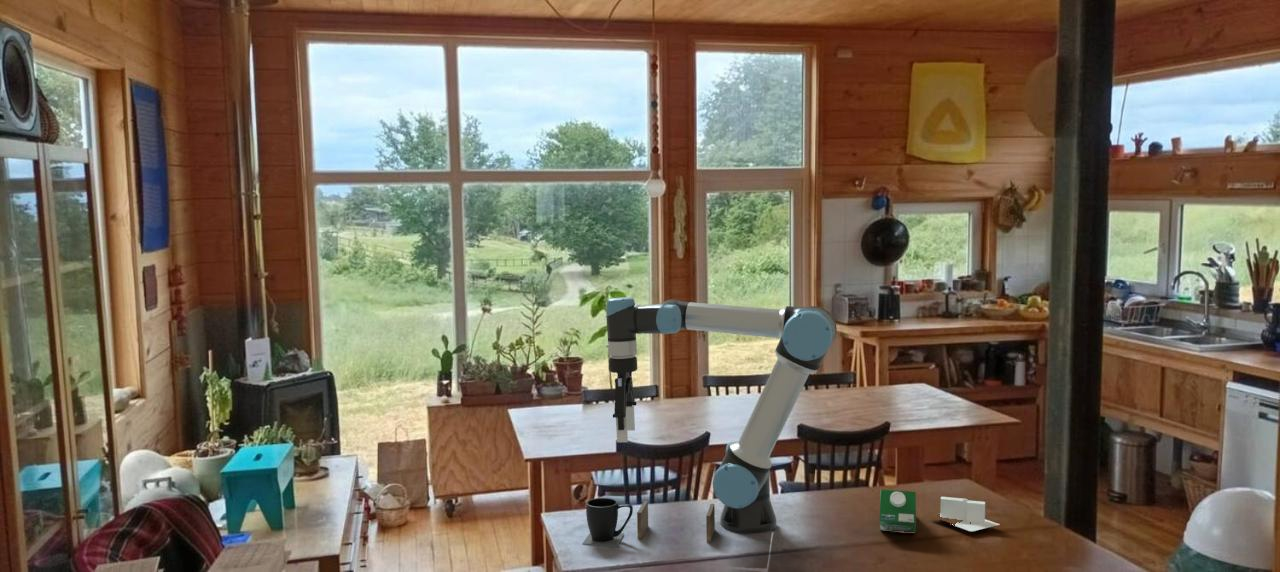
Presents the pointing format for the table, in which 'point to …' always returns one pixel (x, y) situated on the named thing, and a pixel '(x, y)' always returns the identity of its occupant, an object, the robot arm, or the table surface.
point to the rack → (643, 521)
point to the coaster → (612, 543)
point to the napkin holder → (965, 513)
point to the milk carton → (898, 510)
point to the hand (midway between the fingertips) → (626, 436)
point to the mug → (604, 518)
